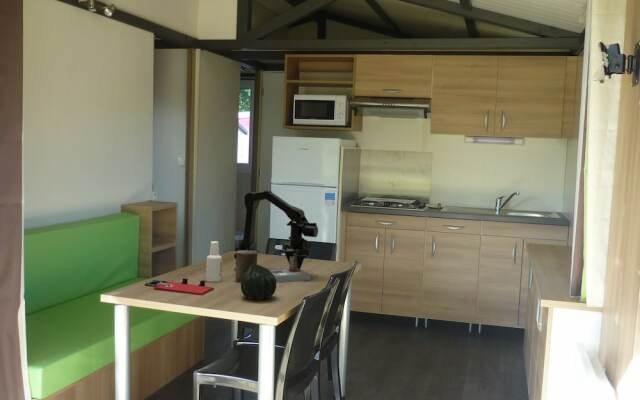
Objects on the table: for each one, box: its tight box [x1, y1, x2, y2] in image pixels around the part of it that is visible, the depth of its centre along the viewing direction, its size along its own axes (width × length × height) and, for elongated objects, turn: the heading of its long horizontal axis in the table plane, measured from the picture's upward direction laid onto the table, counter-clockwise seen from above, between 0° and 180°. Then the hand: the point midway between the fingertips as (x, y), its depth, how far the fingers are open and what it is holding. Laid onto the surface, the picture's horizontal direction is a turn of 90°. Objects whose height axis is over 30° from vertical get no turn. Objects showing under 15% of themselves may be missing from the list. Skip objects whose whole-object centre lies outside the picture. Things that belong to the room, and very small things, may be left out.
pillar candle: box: [235, 250, 258, 283], centre depth 274 cm, size 10×10×15 cm
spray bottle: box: [205, 240, 223, 283], centre depth 272 cm, size 7×7×18 cm
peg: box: [288, 255, 301, 273], centre depth 288 cm, size 4×4×10 cm
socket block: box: [269, 268, 311, 284], centre depth 284 cm, size 18×13×3 cm
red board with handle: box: [144, 278, 215, 296], centre depth 256 cm, size 30×3×15 cm
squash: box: [240, 263, 277, 301], centre depth 245 cm, size 14×15×15 cm
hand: (294, 267), depth 288 cm, fingers open, 9 cm apart
